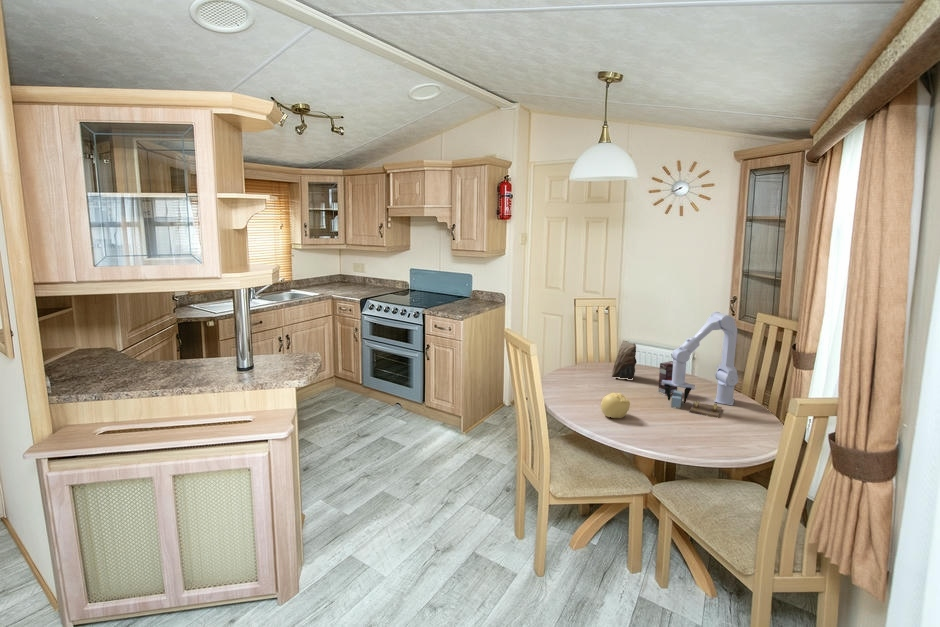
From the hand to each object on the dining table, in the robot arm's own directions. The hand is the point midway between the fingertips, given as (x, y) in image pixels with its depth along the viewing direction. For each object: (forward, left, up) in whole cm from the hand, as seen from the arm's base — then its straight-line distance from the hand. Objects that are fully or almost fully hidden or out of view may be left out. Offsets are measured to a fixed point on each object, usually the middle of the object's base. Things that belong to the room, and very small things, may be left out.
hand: (676, 401), depth 240 cm
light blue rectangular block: (0, 0, -2) cm, 2 cm away
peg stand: (+2, +13, -1) cm, 13 cm away
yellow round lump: (+30, -21, -2) cm, 37 cm away
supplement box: (-14, -7, -2) cm, 16 cm away
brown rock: (-27, -34, -2) cm, 43 cm away
